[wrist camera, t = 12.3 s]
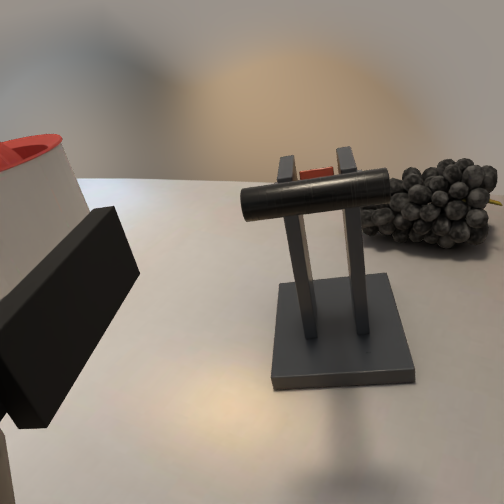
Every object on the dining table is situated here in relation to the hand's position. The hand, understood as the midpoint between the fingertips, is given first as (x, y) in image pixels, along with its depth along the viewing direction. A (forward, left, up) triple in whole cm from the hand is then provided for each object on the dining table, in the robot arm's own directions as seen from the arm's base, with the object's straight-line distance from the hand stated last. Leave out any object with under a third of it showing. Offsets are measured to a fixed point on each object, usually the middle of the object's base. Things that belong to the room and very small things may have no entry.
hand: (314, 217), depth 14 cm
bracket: (+3, -15, -18) cm, 24 cm away
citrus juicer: (+36, -18, -18) cm, 44 cm away
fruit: (-4, -31, -18) cm, 36 cm away
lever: (+2, -10, -4) cm, 11 cm away
